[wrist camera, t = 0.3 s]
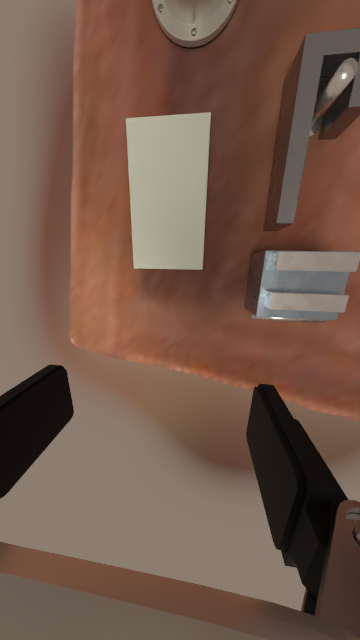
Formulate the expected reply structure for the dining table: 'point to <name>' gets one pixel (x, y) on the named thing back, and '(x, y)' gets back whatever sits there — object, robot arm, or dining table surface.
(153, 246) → the mat
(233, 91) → the dining table surface
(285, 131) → the crook
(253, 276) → the grey metal pieces
